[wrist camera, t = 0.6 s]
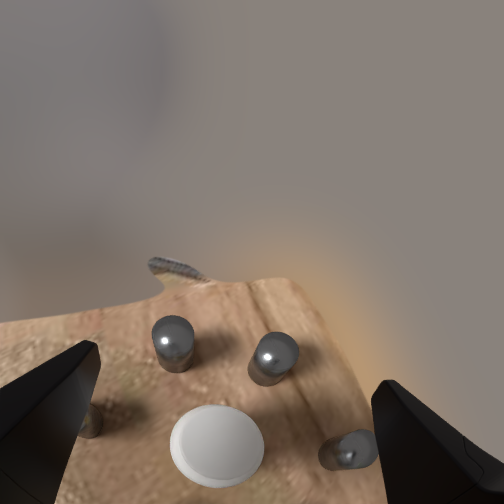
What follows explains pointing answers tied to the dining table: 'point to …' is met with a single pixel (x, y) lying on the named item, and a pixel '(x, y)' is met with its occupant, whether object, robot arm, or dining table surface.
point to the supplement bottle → (217, 446)
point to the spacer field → (262, 373)
